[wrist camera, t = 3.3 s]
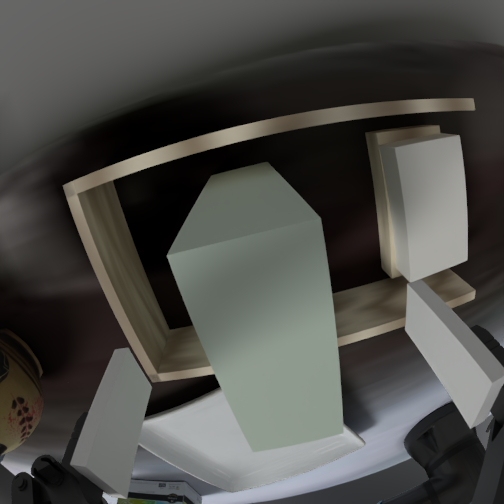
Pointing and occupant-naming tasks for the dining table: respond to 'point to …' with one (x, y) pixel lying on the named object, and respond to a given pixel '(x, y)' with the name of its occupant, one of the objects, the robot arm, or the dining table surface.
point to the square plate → (232, 446)
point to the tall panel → (263, 305)
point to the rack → (186, 339)
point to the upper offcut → (426, 203)
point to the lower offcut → (381, 190)
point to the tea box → (160, 493)
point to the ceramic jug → (18, 391)
